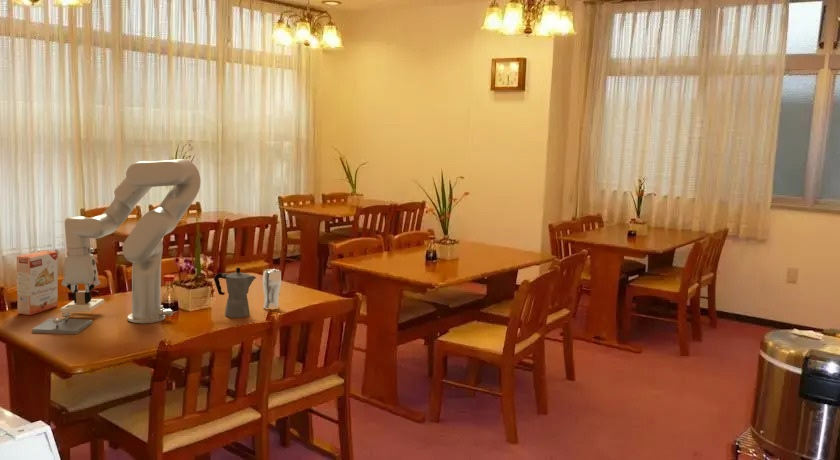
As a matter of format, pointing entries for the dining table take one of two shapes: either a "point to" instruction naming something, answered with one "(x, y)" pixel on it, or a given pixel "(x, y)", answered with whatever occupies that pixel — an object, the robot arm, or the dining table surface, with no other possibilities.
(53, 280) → the cracker box
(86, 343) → the dining table surface
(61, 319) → the bosses
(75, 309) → the panel
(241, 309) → the coffeepot
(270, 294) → the beer glass
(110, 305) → the dining table surface
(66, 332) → the board
